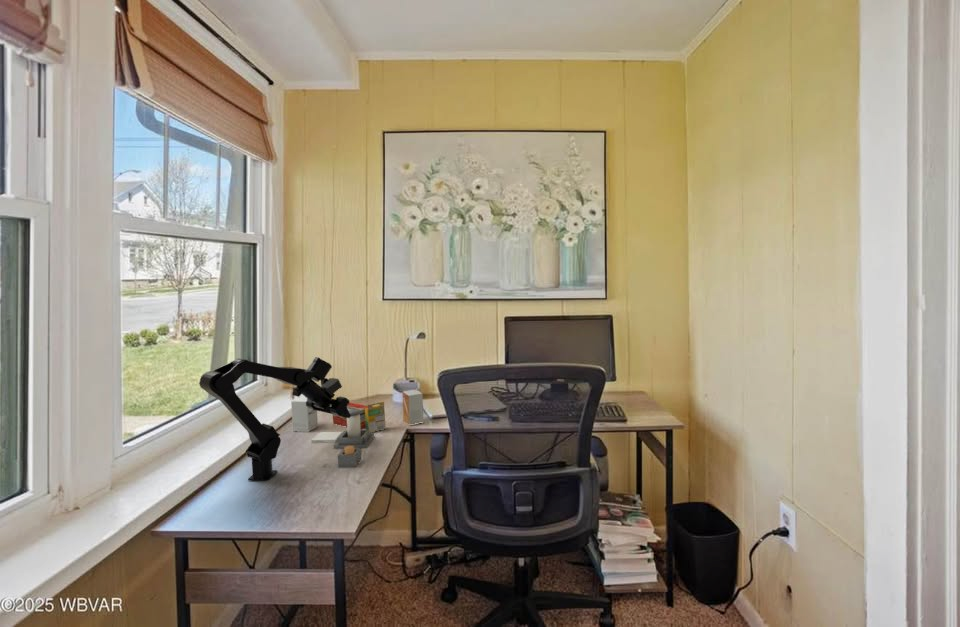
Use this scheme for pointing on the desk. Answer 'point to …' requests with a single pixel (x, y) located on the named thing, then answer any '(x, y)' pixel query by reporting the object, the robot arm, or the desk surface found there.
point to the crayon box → (375, 417)
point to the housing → (354, 440)
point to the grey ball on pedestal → (354, 424)
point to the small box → (412, 406)
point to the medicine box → (343, 420)
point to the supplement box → (303, 416)
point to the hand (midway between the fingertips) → (341, 414)
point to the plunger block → (349, 458)
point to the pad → (326, 437)
